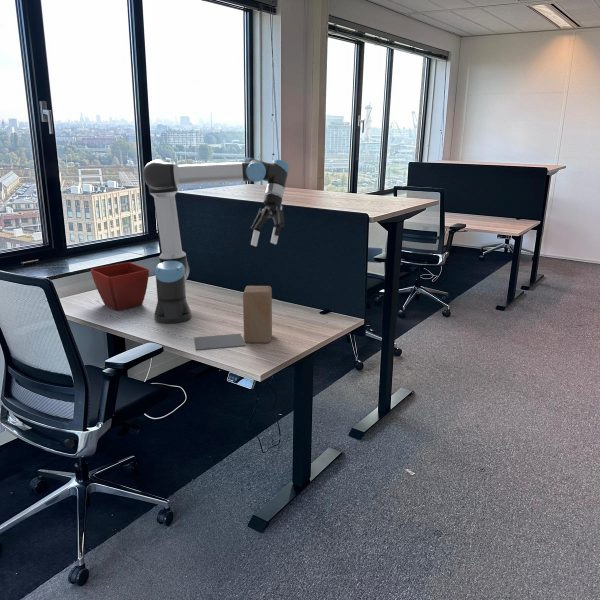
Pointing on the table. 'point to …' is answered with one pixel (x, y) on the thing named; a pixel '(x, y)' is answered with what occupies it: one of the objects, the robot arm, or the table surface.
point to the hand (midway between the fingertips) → (263, 244)
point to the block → (257, 314)
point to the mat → (218, 341)
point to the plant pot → (121, 284)
